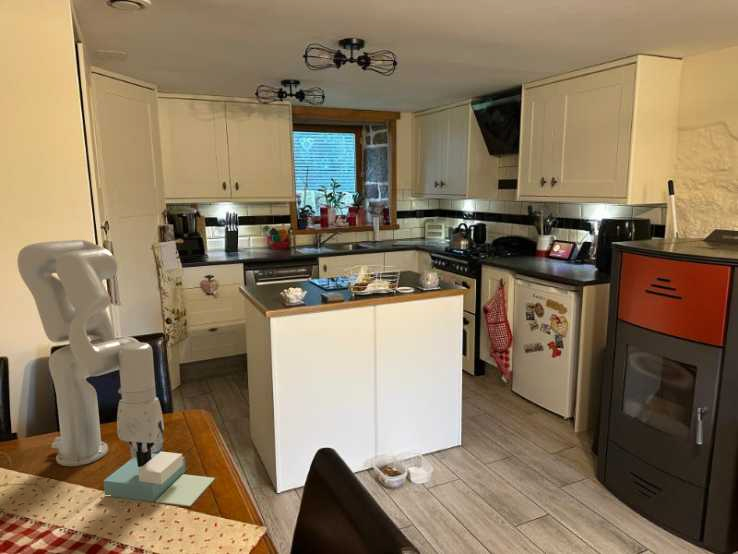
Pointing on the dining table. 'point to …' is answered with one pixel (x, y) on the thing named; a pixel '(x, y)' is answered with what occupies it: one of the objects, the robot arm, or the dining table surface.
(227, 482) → the dining table surface
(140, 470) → the white rectangular block
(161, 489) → the block
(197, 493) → the mat
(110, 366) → the robot arm
